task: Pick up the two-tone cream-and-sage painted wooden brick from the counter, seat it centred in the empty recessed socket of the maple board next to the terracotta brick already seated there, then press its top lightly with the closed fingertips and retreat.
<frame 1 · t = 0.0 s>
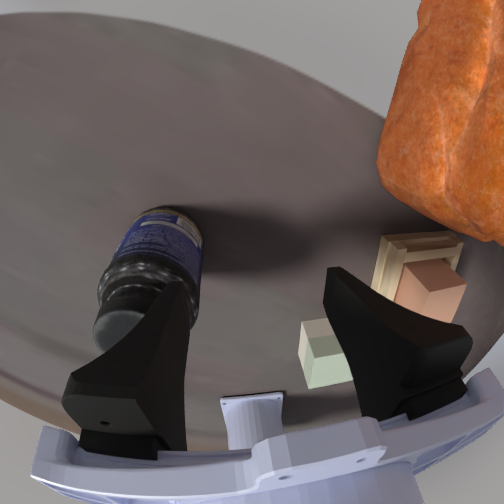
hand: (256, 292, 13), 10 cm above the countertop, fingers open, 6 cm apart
pill bottle: (166, 240, 23), on the countertop, touching gripper
socket board: (399, 305, 29), on the countertop
terracotta brick: (414, 279, 26), point 1 cm above the countertop, touching socket board
two tone brick: (322, 334, 30), on the countertop
bread: (466, 69, 17), on the countertop
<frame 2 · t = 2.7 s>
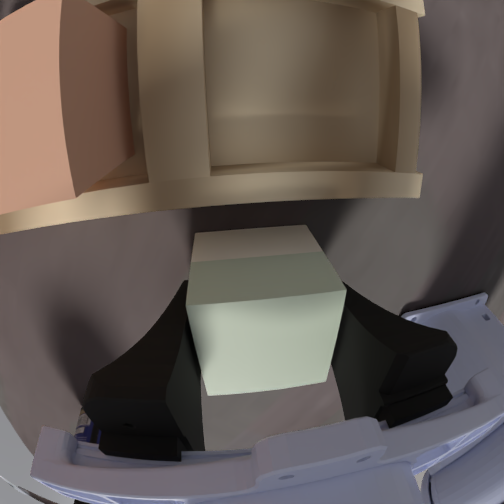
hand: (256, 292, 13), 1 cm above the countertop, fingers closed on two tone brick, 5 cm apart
pill bottle: (115, 414, 20), on the countertop
socket board: (181, 83, 10), on the countertop
terracotta brick: (69, 104, 8), point 1 cm above the countertop, touching socket board
two tone brick: (253, 275, 14), on the countertop, touching gripper
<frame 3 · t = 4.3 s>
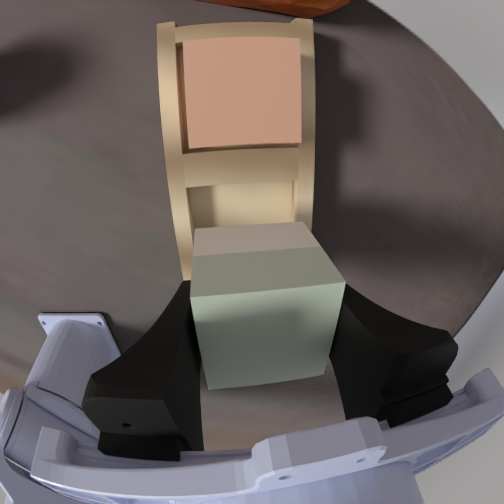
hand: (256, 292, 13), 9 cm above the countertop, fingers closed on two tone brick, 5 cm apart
socket board: (238, 157, 18), on the countertop
terracotta brick: (236, 93, 15), point 1 cm above the countertop, touching socket board
two tone brick: (250, 271, 14), point 7 cm above the countertop, touching gripper
when the fingers open (4 cm above the countertop, at t = 6.0 s): two tone brick drops 1 cm, resting on socket board.
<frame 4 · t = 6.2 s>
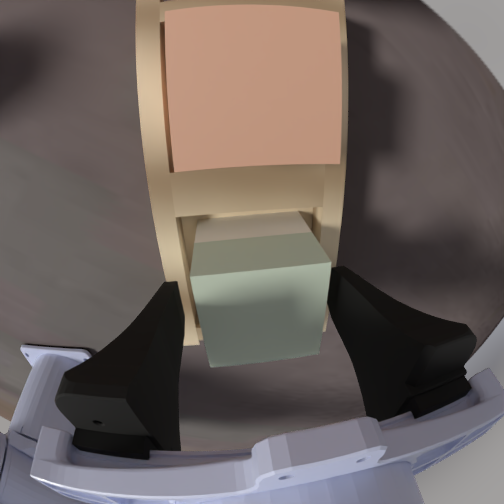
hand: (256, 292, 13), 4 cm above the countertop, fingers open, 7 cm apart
socket board: (244, 173, 15), on the countertop
terracotta brick: (243, 89, 11), point 1 cm above the countertop, touching socket board
two tone brick: (250, 258, 16), point 1 cm above the countertop, touching socket board
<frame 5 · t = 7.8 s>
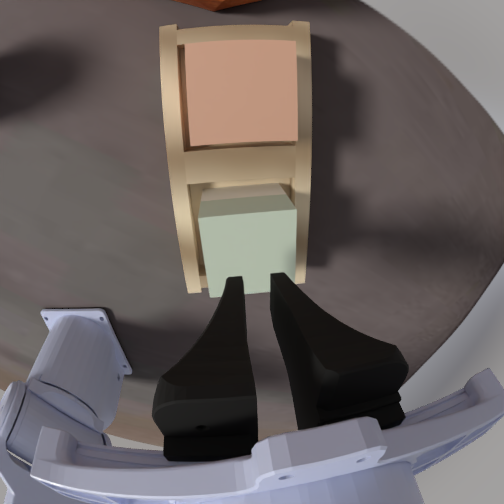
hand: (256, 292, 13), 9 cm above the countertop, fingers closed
socket board: (238, 155, 19), on the countertop
terracotta brick: (236, 93, 16), point 1 cm above the countertop, touching socket board
two tone brick: (242, 220, 20), point 1 cm above the countertop, touching socket board
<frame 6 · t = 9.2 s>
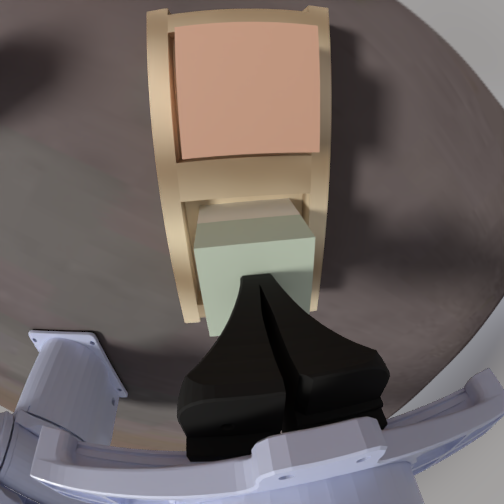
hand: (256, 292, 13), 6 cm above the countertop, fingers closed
socket board: (241, 165, 16), on the countertop
terracotta brick: (240, 91, 13), point 1 cm above the countertop, touching socket board
two tone brick: (247, 241, 17), point 1 cm above the countertop, touching socket board
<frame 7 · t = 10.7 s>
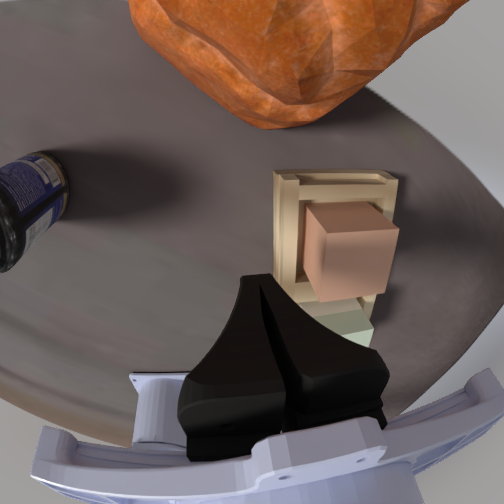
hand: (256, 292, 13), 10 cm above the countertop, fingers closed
pill bottle: (43, 186, 19), on the countertop
socket board: (323, 270, 25), on the countertop
terracotta brick: (333, 232, 22), point 1 cm above the countertop, touching socket board
two tone brick: (323, 316, 26), point 1 cm above the countertop, touching socket board
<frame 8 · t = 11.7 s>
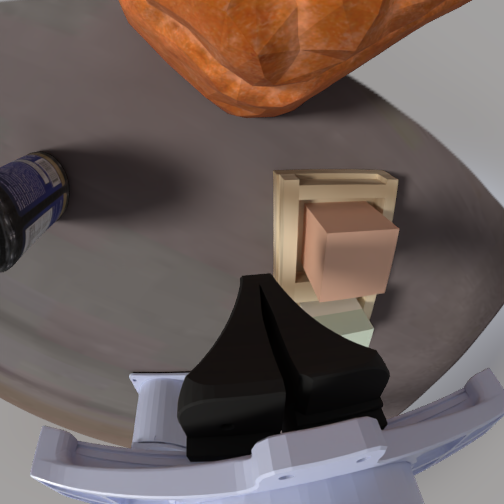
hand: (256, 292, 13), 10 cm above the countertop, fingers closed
pill bottle: (43, 186, 19), on the countertop
socket board: (323, 270, 25), on the countertop
terracotta brick: (333, 232, 22), point 1 cm above the countertop, touching socket board
two tone brick: (323, 316, 26), point 1 cm above the countertop, touching socket board
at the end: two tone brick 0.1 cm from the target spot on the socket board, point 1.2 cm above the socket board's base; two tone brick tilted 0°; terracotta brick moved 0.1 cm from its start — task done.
